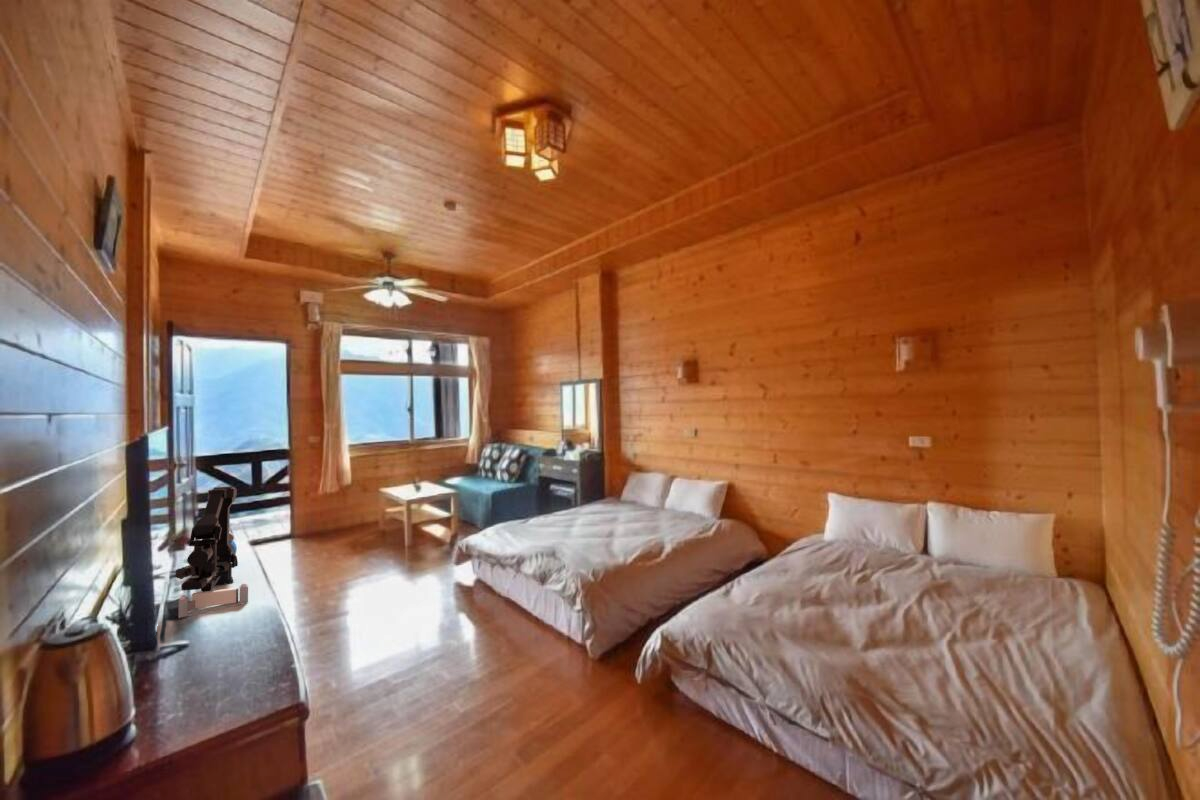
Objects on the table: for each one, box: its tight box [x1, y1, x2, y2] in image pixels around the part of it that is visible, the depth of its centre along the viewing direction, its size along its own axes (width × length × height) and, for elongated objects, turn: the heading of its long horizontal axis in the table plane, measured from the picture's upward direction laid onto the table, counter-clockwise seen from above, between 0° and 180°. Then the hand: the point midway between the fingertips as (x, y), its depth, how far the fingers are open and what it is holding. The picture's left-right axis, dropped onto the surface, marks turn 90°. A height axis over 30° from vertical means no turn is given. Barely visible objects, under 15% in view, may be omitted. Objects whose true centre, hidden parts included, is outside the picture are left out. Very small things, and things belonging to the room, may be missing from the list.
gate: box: [191, 587, 239, 609], centre depth 172 cm, size 2×14×5 cm, turn 113°
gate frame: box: [178, 582, 249, 619], centre depth 170 cm, size 3×19×7 cm, turn 131°
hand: (206, 598), depth 173 cm, fingers closed
